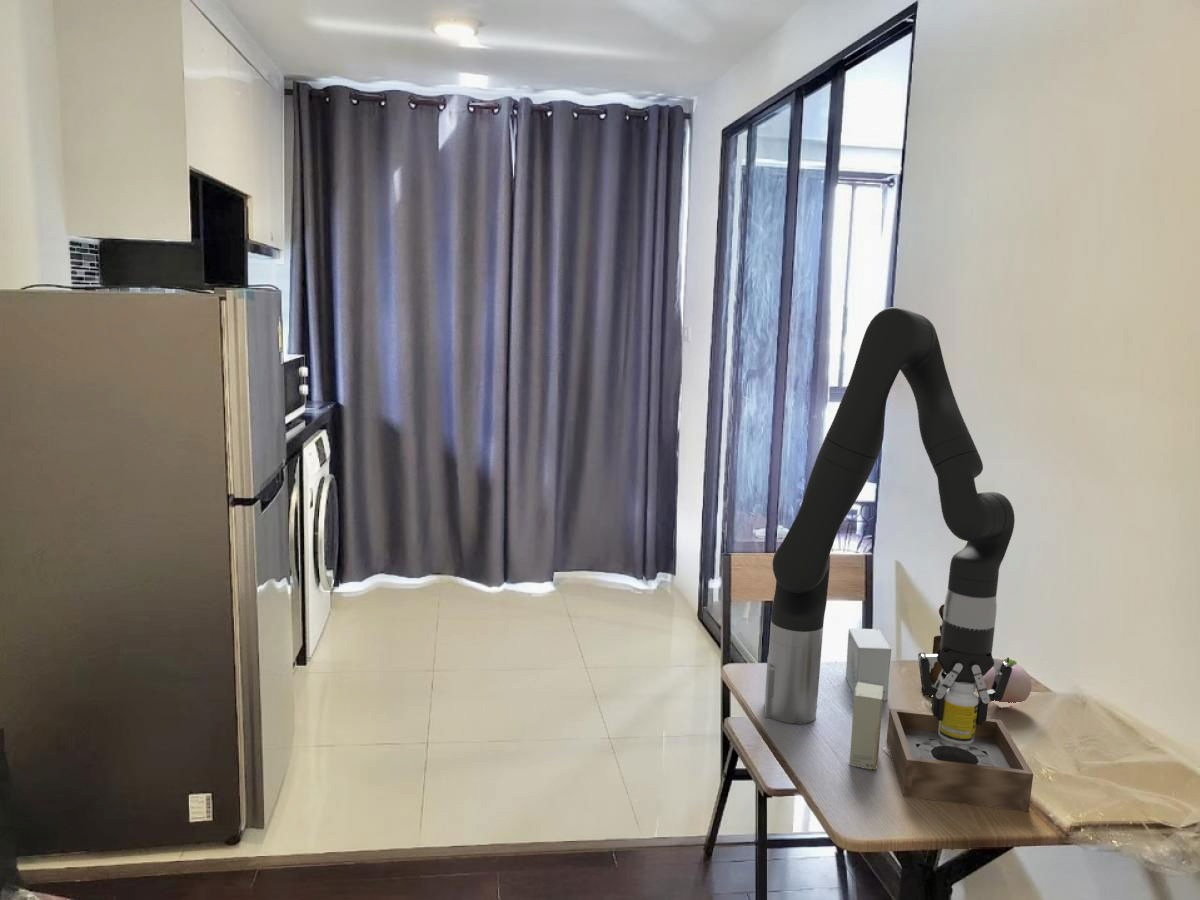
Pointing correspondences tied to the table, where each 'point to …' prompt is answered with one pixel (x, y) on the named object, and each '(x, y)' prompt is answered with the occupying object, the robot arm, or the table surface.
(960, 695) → the supplement bottle
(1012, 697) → the decorative fruit
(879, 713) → the skincare box
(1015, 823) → the table surface
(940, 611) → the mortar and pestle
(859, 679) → the skincare box
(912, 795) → the bore box
